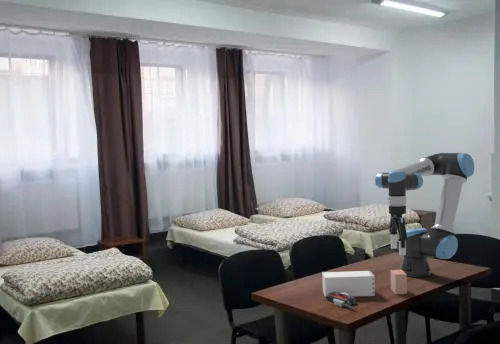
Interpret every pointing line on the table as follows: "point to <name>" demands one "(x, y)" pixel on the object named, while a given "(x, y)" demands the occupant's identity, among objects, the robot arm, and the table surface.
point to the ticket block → (349, 283)
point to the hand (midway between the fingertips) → (398, 251)
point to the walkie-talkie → (342, 299)
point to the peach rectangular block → (398, 282)
